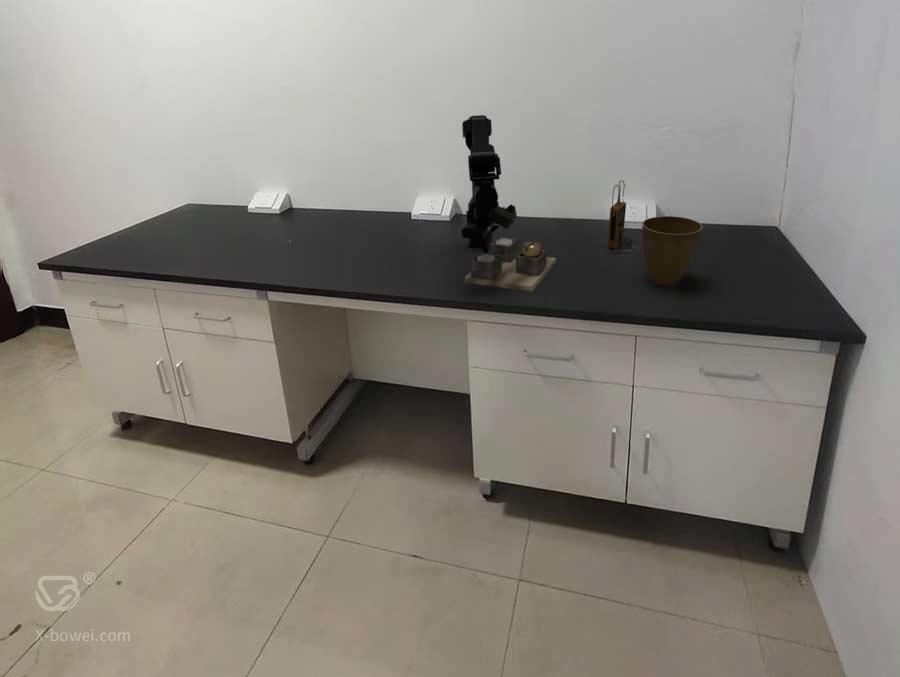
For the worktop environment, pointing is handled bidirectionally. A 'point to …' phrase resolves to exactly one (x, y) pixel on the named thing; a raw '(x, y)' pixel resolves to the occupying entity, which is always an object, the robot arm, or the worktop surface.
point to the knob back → (504, 242)
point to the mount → (510, 268)
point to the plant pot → (669, 247)
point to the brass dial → (531, 249)
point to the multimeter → (617, 223)
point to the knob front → (486, 258)
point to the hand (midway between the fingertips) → (486, 252)
